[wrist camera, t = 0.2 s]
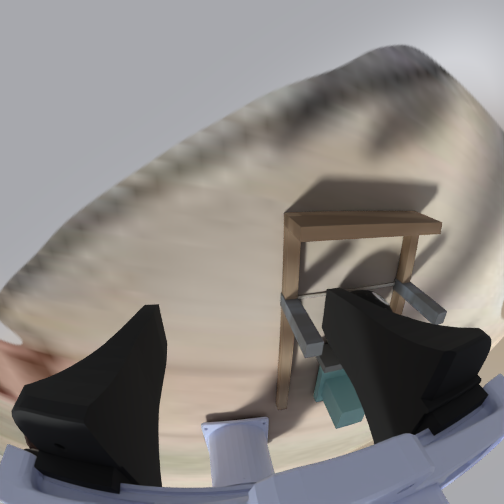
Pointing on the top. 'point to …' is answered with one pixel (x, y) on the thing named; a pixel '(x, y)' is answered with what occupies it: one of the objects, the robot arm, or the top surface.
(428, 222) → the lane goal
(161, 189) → the top surface
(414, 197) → the top surface
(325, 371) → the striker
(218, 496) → the robot arm
